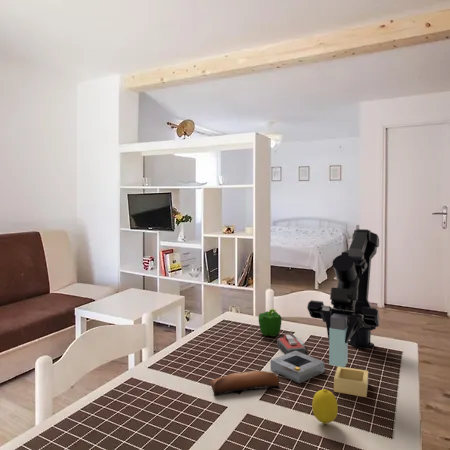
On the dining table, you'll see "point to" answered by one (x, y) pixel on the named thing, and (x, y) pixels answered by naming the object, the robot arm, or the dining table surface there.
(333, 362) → the plug
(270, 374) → the sunglasses case
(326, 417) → the lemon
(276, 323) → the bell pepper
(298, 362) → the port block
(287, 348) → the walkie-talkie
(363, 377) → the yellow square socket
